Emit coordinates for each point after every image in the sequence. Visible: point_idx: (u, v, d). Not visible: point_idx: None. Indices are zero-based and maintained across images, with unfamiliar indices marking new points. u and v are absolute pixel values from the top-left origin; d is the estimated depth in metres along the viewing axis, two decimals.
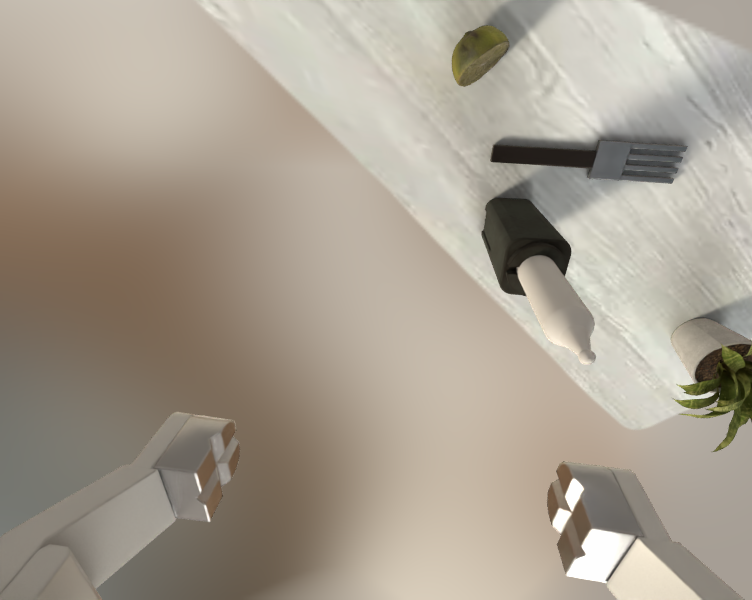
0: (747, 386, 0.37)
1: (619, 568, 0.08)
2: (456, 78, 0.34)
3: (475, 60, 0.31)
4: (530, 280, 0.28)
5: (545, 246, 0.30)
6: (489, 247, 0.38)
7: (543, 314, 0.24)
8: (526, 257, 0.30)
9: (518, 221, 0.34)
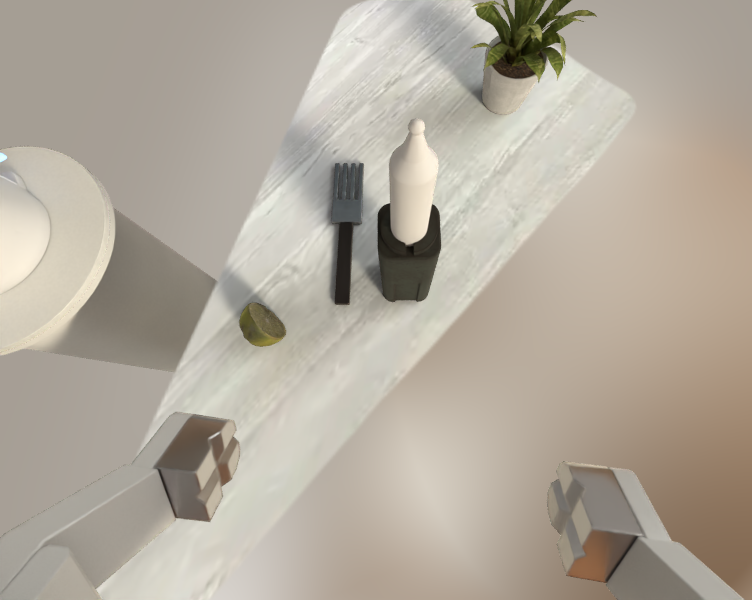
0: (521, 31, 0.39)
1: (619, 568, 0.08)
2: (274, 340, 0.39)
3: (257, 324, 0.38)
4: (401, 223, 0.27)
5: (381, 224, 0.30)
6: (418, 286, 0.37)
7: (408, 191, 0.23)
8: (394, 238, 0.30)
9: None
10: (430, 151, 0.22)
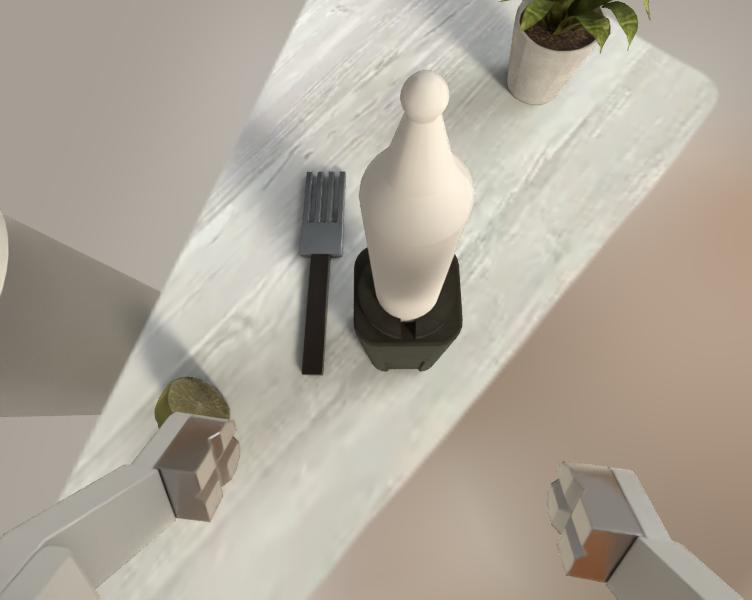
0: None
1: (619, 568, 0.08)
2: None
3: None
4: (392, 296, 0.14)
5: (360, 284, 0.18)
6: (423, 361, 0.24)
7: (403, 255, 0.10)
8: (381, 310, 0.17)
9: None
10: (457, 164, 0.09)
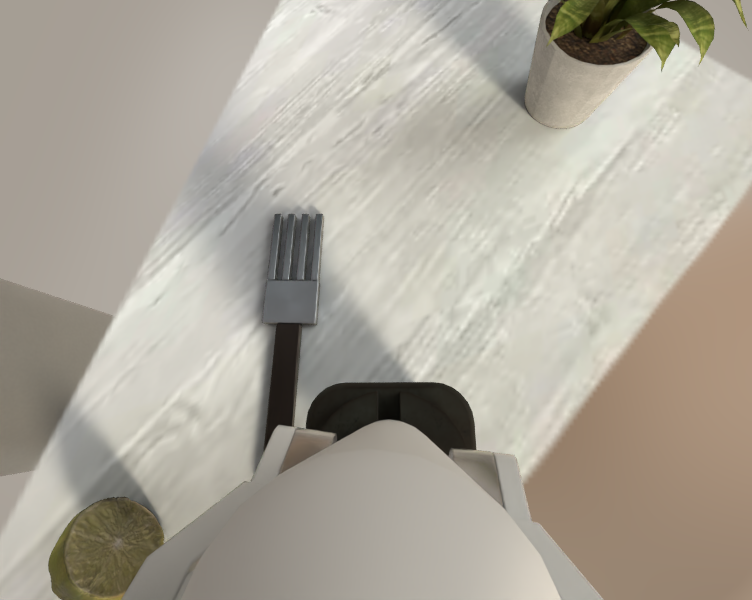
0: None
1: None
2: None
3: (75, 582, 0.18)
4: None
5: None
6: None
7: None
8: None
9: None
10: None
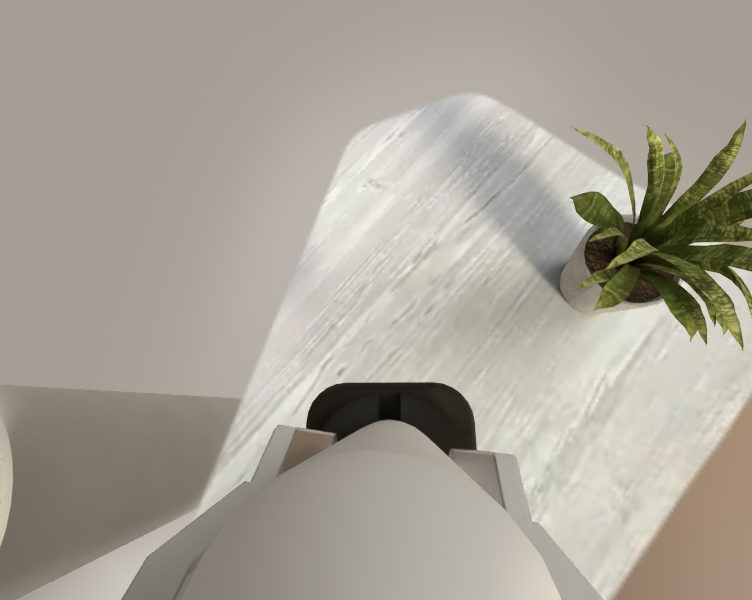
0: (660, 255, 0.23)
1: None
2: None
3: None
4: None
5: None
6: None
7: None
8: None
9: None
10: None
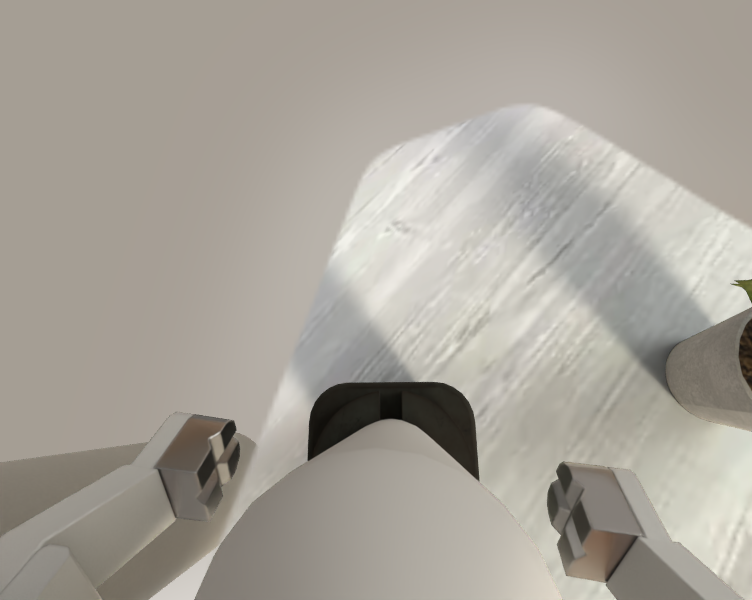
0: None
1: (619, 567, 0.08)
2: None
3: None
4: None
5: None
6: None
7: None
8: None
9: None
10: None
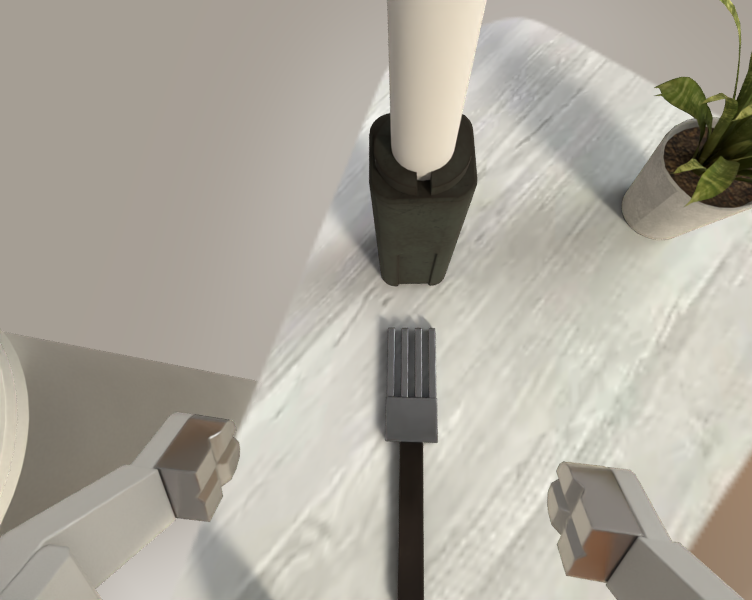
0: None
1: (619, 568, 0.08)
2: None
3: None
4: (411, 120, 0.14)
5: (376, 143, 0.18)
6: (434, 258, 0.25)
7: (428, 8, 0.10)
8: (397, 165, 0.17)
9: None
10: None
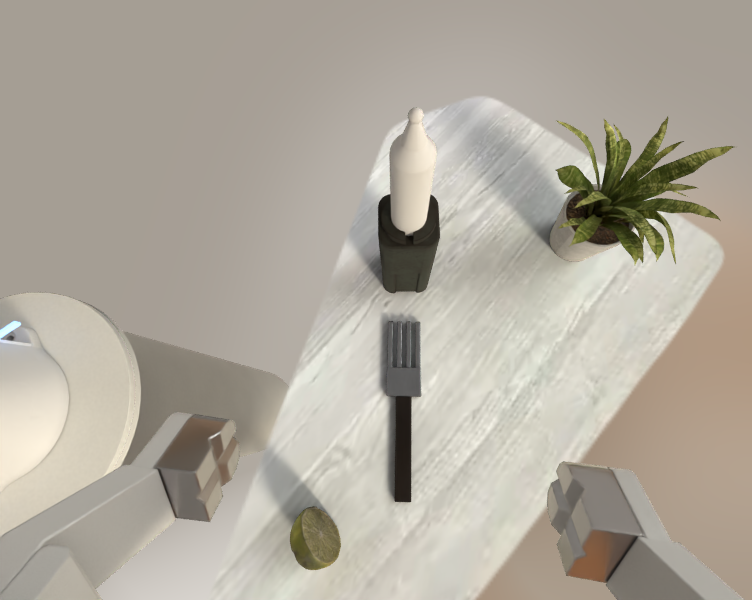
0: None
1: (619, 568, 0.08)
2: (331, 563, 0.34)
3: (313, 554, 0.32)
4: (401, 211, 0.28)
5: (382, 214, 0.31)
6: (418, 276, 0.38)
7: (407, 179, 0.24)
8: (394, 227, 0.31)
9: None
10: (429, 140, 0.23)
